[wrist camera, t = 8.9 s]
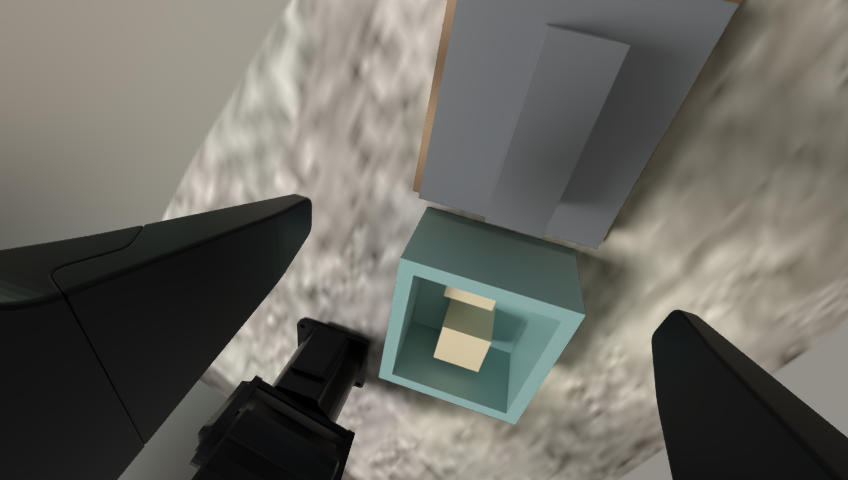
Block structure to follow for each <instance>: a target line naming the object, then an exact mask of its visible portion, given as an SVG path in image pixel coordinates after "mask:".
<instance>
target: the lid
mask: <svg viewBox="0 0 848 480" xmlns="http://www.w3.org/2000/svg"><path fill="white" fill-rule="evenodd" d="M738 5H739V4H737V3H732V2H727V1H722V0H457V2H456V8H455V13H454V18H453V23H452V28H451V33H450V39H449V44H448V49H447V54H446V59H445V64H444V70H443V75H442V80H441V85H440V90H439V95H438V100H437V106H436V111H435V116H434V121H433V126H432V131H431V137H430V142H429V147H428V152H427V157H426V162H425V167H424V173H423V178H422V183H421V188H420V193H419V198H420V199H424V200H427V201H431V202H434V203H438V204H441V205H445V206H448V207H452V208H455V209H459V210H462V211H465V212H469V213H472V214H476V215H479V216H483V217H485V222H487V223H490V224H493V225H497V226H500V227H504V228H507V229H511V230H514V231H518V232H521V233H525V234H528V235H532V236H535V237H539V238H543V236H544V234H546V235H549V236H553V237H556V238H560V239H563V240H567V241H570V242H574V243H577V244H581V245H584V246H587V247H591V248H594V249H597V248H598V247H599V245H600V243H601V241H602V240H603V238H604V236H605V234H606V233H607V231H608V229H609V228H610V226H611V224H612V222H613V221H614V219H615V217H616V216H617V214H618V212H619V210H620V209H621V207H622V205H623V203H624V202H625V200H626V198H627V197H628V195H629V193H630V191H631V190H632V188H633V186H634V184H635V183H636V181H637V179H638V178H639V176H640V174H641V172H642V171H643V169H644V167H645V165H646V164H647V162H648V160H649V159H650V157H651V155H652V153H653V152H654V150H655V148H656V147H657V145H658V143H659V141H660V140H661V138H662V136H663V134H664V133H665V131H666V129H667V128H668V126H669V124H670V122H671V121H672V119H673V117H674V115H675V114H676V112H677V110H678V109H679V107H680V105H681V103H682V102H683V100H684V98H685V96H686V95H687V93H688V91H689V90H690V88H691V86H692V84H693V83H694V81H695V79H696V78H697V76H698V74H699V72H700V71H701V69H702V67H703V65H704V64H705V62H706V60H707V59H708V57H709V55H710V53H711V52H712V50H713V48H714V46H715V45H716V43H717V41H718V40H719V38H720V36H721V34H722V33H723V31H724V29H725V27H726V26H727V24H728V22H729V21H730V19H731V17H732V15H733V14H734V12H735V10H736V9H737V7H738Z"/></svg>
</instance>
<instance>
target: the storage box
mask: <svg viewBox="0 0 848 480" xmlns="http://www.w3.org/2000/svg"><path fill="white" fill-rule="evenodd" d="M585 316H586V313H585V307H584V302H583V296H582V291H581V285H580V279H579V274H578V268H577V263H576V257H575V252H574V249H571V248H567V247H564V246H560V245H557V244H554V243H550V242H547V241H543V240H540V239H536V238H533V237H529V236H526V235H523V234H519V233H516V232H512V231H509V230H505V229H502V228H498V227H495V226H492V225H488V224H485V223H481V222H478V221H474V220H471V219H467V218H464V217H461V216H457V215H454V214H450V213H447V212H443V211H440V210H436V209H433V208H430V207H427V209H426V211H425V212H424V214H423V216H422V218H421V220H420V222H419V224H418V226H417V228H416V229H415V231H414V233H413V235H412V237H411V239H410V241H409V243H408V244H407V246H406V248H405V250H404V252H403V254H402V256H401V258H400V263H399V268H398V274H397V279H396V285H395V290H394V296H393V301H392V307H391V312H390V318H389V323H388V329H387V334H386V340H385V345H384V351H383V356H382V362H381V367H380V373H379V378H382V379H385V380H388V381H391V382H393V383H396V384H399V385H402V386H405V387H408V388H411V389H414V390H416V391H419V392H422V393H425V394H428V395H431V396H434V397H437V398H439V399H442V400H445V401H448V402H451V403H454V404H457V405H460V406H462V407H465V408H468V409H471V410H474V411H477V412H480V413H483V414H485V415H488V416H491V417H494V418H497V419H500V420H503V421H506V422H508V423H511V424H514V425H515V424H516V422H517V421H518V419H519V418H520V416H521V415H522V413H523V412H524V410H525V409H526V407H527V405H528V404H529V402H530V401H531V399H532V398H533V396H534V395H535V393H536V391H537V390H538V388H539V387H540V385H541V384H542V382H543V381H544V379H545V378H546V376H547V374H548V373H549V371H550V370H551V368H552V367H553V365H554V364H555V362H556V361H557V359H558V357H559V356H560V354H561V353H562V351H563V350H564V348H565V347H566V345H567V344H568V342H569V340H570V339H571V337H572V336H573V334H574V333H575V331H576V330H577V328H578V327H579V325H580V323H581V322H582V320H583V319H584V317H585Z"/></svg>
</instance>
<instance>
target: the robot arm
mask: <svg viewBox="0 0 848 480" xmlns="http://www.w3.org/2000/svg"><path fill="white" fill-rule="evenodd" d="M311 226H312V203H311V200H310V199H309V198H307V197H304V196H300V195H297V194H292V195H287V196H282V197H278V198H273V199H268V200H263V201H258V202H253V203H248V204H243V205H239V206H234V207H229V208H224V209H219V210H214V211H209V212H204V213H200V214H195V215H190V216H185V217H180V218H175V219H170V220H165V221H160V222H156V223H151V224H146V225H145V226H144V227H143V226H136V227H131V228H126V229H122V230H116V231H111V232H105V233H101V234H95V235H90V236H84V237H78V238H72V239H66V240H60V241H54V242H48V243H41V244H35V245H29V246H23V247H17V248H10V249H3V250H0V480H117V479H118V478H119V477H120V476H121V475H122V473H123V472H124V471H125V469H126V468H127V467H128V466H129V465H130V464H131V462H132V461H133V460H134V459H135V457H136V456H137V455H138V454H139V452H140V451H141V450H142V449H143V448H144V444H146V443H147V442H148V441H149V440H150V439H151V437H152V436H153V435H154V434H155V432H156V431H157V430H158V429H159V427H160V426H161V425H162V424H163V423H164V421H165V420H166V419H167V418H168V416H169V415H170V414H171V413H172V411H173V410H174V409H175V408H176V407H177V405H178V404H179V403H180V402H181V401H182V399H183V398H184V397H185V396H186V394H187V393H188V392H189V391H190V389H191V388H192V387H193V386H194V385H195V383H196V382H197V381H198V380H199V379H200V377H201V376H202V375H203V374H204V372H205V371H206V370H207V369H208V367H209V366H210V365H211V364H212V363H213V361H214V360H215V359H216V358H217V356H218V355H219V354H220V353H221V352H222V350H223V349H224V348H225V347H226V345H227V344H228V343H229V342H230V341H231V339H232V338H233V337H234V336H235V334H236V333H237V332H238V331H239V329H240V328H241V327H242V326H243V325H244V323H245V322H246V321H247V320H248V318H249V317H250V316H251V315H252V314H253V312H254V311H255V310H256V309H257V307H258V306H259V305H260V304H261V303H262V301H263V300H264V299H265V298H266V296H267V295H268V294H269V293H270V291H271V290H272V289H273V288H274V287H275V285H276V284H277V283H278V281H279V280H280V279H281V277H282V276H283V275H284V273H285V272H286V270H287V268H288V267H289V265H290V264H291V262H292V261H293V259H294V257H295V256H296V254H297V253H298V251H299V250H300V248H301V246H302V245H303V243H304V242H305V240H306V239H307V237H308V235H309V233H310V231H311ZM297 332H298V349H297V350H296V352H295V353H294V354H293V356H292V357H291V359H290V360H289V362H288V363H287V365H286V366H285V367H284V369H283V370H282V372H281V373H280V375H279V376H278V378H277V379H276V380H275V382H274V383H273V385H272V386H271V385H270V384H268V383H266V382H265V381H263V380H262V378H260V377H259V376H257V375H256V376H255V377H254V379H253V380H252V381H250V382H249V381H242V382H241V383H240V384H239V386H238V387H237V388H236V390H235V391H234V392H233V393H232V395H231V396H230V397H229V398H228V400H227V401H226V402H225V403H224V404H223V405H222V406H221V407H220V408H219V410H218V411H217V412H216V413H215V414H214V415H213V416H212V417H211V418H210V420H208V422H207V423H206V424H205V425H204V426H203V427H202V428H201V430H200V431H199V433H198V447H197V448H196V450H195V453H196V454H195V456H194V458H193V459H192V460H191V462H190V464H189V466H190V467H192V468H194V469H196V470H198V471H197V473H196V474H195V476H194V477H193V478H192V480H341V478H342V475H343V471H344V468H345V465H346V461H347V458H348V455H349V452H350V448H351V445H352V442H353V439H354V435H355V433H354V432H352V431H351V430H346V429H345V428H343V427H341V426H340V425H338V424H336V421H337V418H338V416H339V414H340V412H341V410H342V408H343V406H344V404H345V402H346V400H347V397H348V395H349V393H350V391H351V389H352V387H353V386H356V387H359V388H362V387H363V385H364V383H365V378H366V371H367V364H368V357H369V351H370V342H369V341H368V340H366V339H363V338H360V337H357V336H354V335H351V334H348V333H345V332H342V331H339V330H336V329H333V328H330V327H327V326H324V325H321V324H318V323H315V322H312V321H310V320H307V319H300V320H299V322H298V323H297ZM652 354H653V366H654V377H655V389H656V398H657V405H658V411H659V416H660V421H661V425H662V430H663V435H664V440H665V445H666V450H667V455H668V459H669V464H670V469H671V474H672V479H673V480H848V438H847V437H846V436H845V435H844V434H842V433H841V432H840V431H838V430H837V429H836V428H835V427H834V426H833V425H831V424H830V423H829V422H828V421H826V420H825V419H824V418H823V417H821V416H820V415H819V414H818V413H817V412H815V411H814V410H813V409H812V408H810V407H809V406H808V405H807V404H805V403H804V402H803V401H802V400H800V399H799V398H798V397H797V396H795V395H794V394H793V393H792V392H791V391H789V390H788V389H787V388H786V387H785V386H783V385H782V384H781V383H780V382H778V381H777V380H776V379H775V378H773V377H772V376H771V375H770V374H769V373H767V372H766V371H765V370H764V369H762V368H761V367H760V366H759V365H757V364H756V363H755V362H754V361H753V360H751V359H750V358H749V357H748V356H746V355H745V354H744V353H743V352H741V351H740V350H739V349H738V348H736V347H735V346H734V345H733V344H732V343H730V342H729V341H728V340H727V339H725V338H724V337H723V336H722V335H720V334H719V333H718V332H717V331H716V330H714V329H713V328H712V327H711V326H709V325H708V324H707V323H706V322H704V321H703V320H702V319H701V318H700V317H698V316H697V315H695V314H692V313H689V312H685V311H682V310H674V311H672V312H671V313H670V314H669V315H668V316H667V317H666V319H665V320H664V321H663V322H662V323H661V325H660V326H659V327H658V328H657V329H656V331H655V332H654V334H653V336H652Z"/></svg>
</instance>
